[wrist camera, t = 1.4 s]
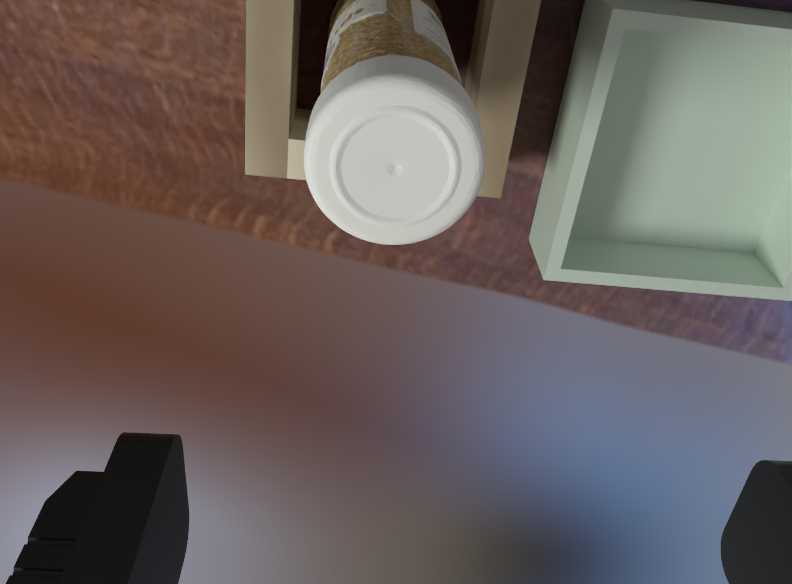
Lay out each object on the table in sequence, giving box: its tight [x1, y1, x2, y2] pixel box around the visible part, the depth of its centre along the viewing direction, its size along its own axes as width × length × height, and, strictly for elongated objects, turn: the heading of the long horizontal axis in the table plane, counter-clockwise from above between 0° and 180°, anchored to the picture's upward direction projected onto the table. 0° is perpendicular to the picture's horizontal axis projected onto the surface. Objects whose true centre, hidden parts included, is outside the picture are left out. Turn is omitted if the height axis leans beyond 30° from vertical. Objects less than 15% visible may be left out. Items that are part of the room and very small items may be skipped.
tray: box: [529, 0, 792, 301], centre depth 31 cm, size 11×11×4 cm
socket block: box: [245, 0, 541, 198], centre depth 28 cm, size 10×10×4 cm
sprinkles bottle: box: [304, 0, 486, 245], centre depth 24 cm, size 5×5×14 cm
